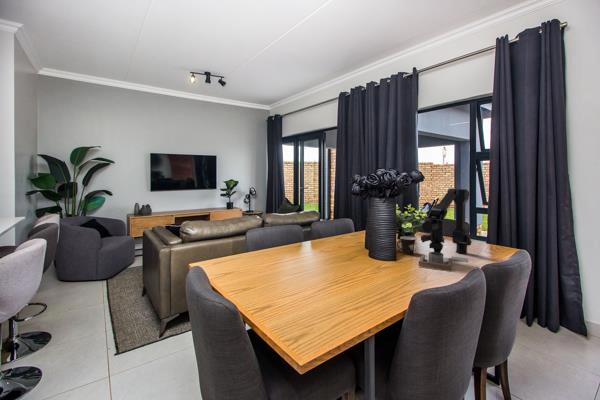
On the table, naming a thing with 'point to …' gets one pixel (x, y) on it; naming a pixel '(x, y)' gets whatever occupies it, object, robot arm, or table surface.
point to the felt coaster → (459, 259)
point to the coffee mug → (407, 245)
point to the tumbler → (436, 257)
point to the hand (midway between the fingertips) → (436, 257)
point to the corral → (435, 264)
